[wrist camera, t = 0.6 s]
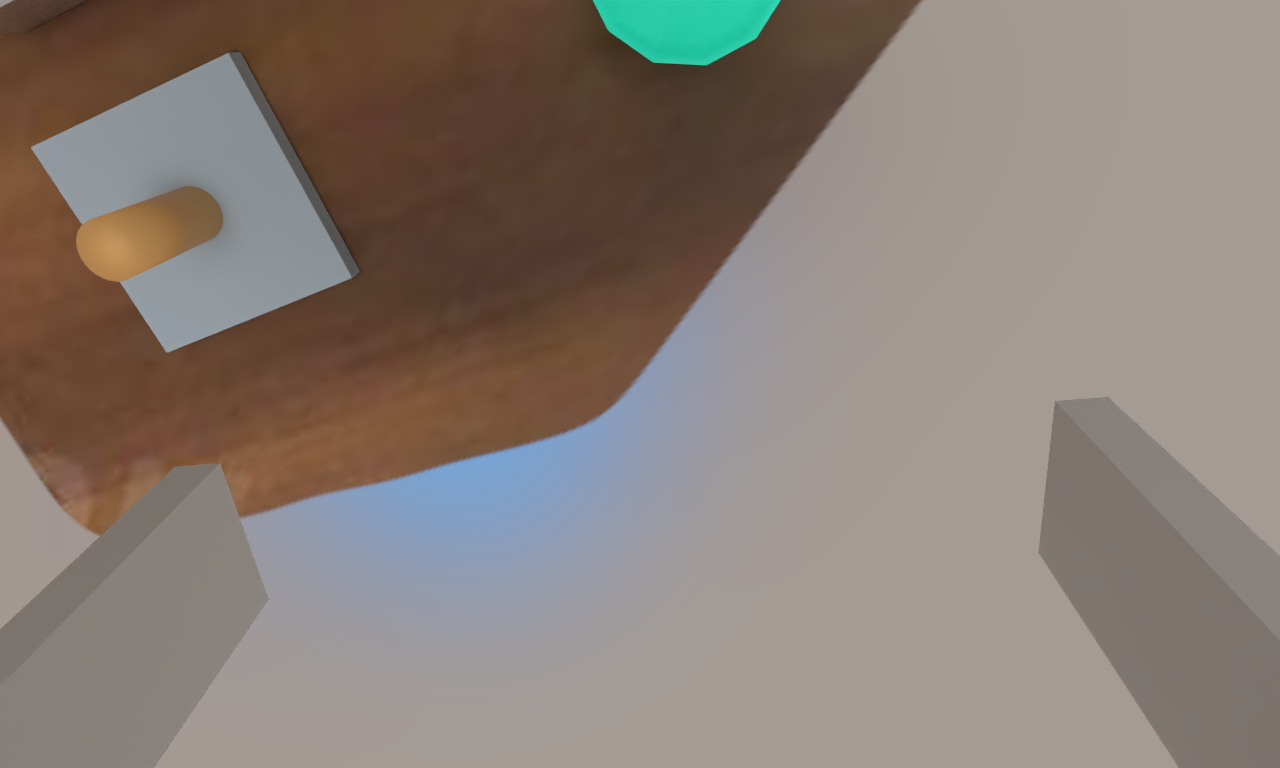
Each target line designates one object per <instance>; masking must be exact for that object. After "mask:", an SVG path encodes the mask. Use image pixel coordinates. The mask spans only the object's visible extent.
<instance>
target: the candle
mask: <svg viewBox="0 0 1280 768" xmlns="http://www.w3.org/2000/svg"><path fill="white" fill-rule="evenodd" d="M593 2H594V4H595V6H596V8H597V9H598V11H599V13H600V15H601V17H602V19H603V21H604V23H605V25H606V27H607V29H608V31H609V32H611V33H612V34H613V35H615V36H616V37H618V38H619V39H621V40H622V41H623V42H625V43H626V44H628V45H629V46H630V47H632V48H633V49H635V50H636V51H637V52H639V53H640V54H642V55H643V56H644V57H646V58H647V59H649V60H650V61H652V62H653V63H671V64H692V65H708V64H710V63H712V62H714V61H716V60H717V59H719V58H721V57H723V56H725V55H727V54H728V53H730V52H732V51H734V50H736V49H738V48H740V47H741V46H743V45H745V44H747V43H749V42H751V41H753V40H754V39H756V38H757V36H758V35H759V33H760V32H761V30H762V29H763V27H764V25H765V24H766V22H767V21H768V19H769V18H770V16H771V14H772V13H773V11H774V10H775V8H776V7H777V5H778V3H779V2H780V0H593Z"/></svg>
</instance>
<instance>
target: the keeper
mask: <svg viewBox="0 0 1280 768" xmlns="http://www.w3.org/2000/svg"><path fill="white" fill-rule="evenodd" d="M31 149H32V150H33V152H34V153H35V155H36V156H37V158H38V159H39V161H40V162H41V164H42V165H43V167H44V168H45V170H46V171H47V173H48V174H49V176H50V177H51V179H52V180H53V182H54V183H55V185H56V186H57V188H58V189H59V191H60V192H61V194H62V195H63V197H64V198H65V200H66V201H67V203H68V204H69V206H70V207H71V209H72V210H73V212H74V213H75V215H76V216H77V218H78V219H79V221H80V223H81V224H82V226H81V227H80V229H79V230H78V233H77V237H76V245H77V250H78V253H79V255H80V257H81V259H82V261H83V262H84V264H85V265H86V266H87V267H88V268H89V269H90V270H91V271H92V272H93V273H95V274H96V275H98V276H100V277H102V278H104V279H106V280H110V281H120V283H121V284H122V286H123V287H124V289H125V290H126V292H127V293H128V295H129V296H130V298H131V299H132V301H133V303H134V304H135V306H136V307H137V309H138V310H139V312H140V313H141V315H142V316H143V318H144V319H145V321H146V322H147V324H148V325H149V327H150V328H151V330H152V331H153V333H154V334H155V336H156V337H157V339H158V340H159V342H160V343H161V345H162V346H163V348H164V349H165V351H166V352H167V353H168V352H170V351H173V350H175V349H178V348H180V347H183V346H185V345H188V344H190V343H193V342H195V341H198V340H200V339H203V338H205V337H208V336H210V335H212V334H215V333H217V332H220V331H222V330H225V329H227V328H230V327H232V326H235V325H237V324H240V323H242V322H245V321H247V320H250V319H252V318H255V317H257V316H259V315H262V314H264V313H267V312H269V311H272V310H274V309H277V308H279V307H282V306H284V305H287V304H289V303H292V302H294V301H297V300H299V299H302V298H304V297H306V296H309V295H311V294H314V293H316V292H319V291H321V290H324V289H326V288H329V287H331V286H334V285H336V284H339V283H341V282H344V281H346V280H348V279H351V278H353V277H354V276H355V275H357V274H358V273H359V272H360V270H359V269H358V267H357V265H356V263H355V261H354V259H353V258H352V256H351V254H350V252H349V250H348V248H347V247H346V245H345V243H344V241H343V239H342V237H341V236H340V234H339V232H338V230H337V228H336V226H335V225H334V223H333V221H332V219H331V217H330V215H329V214H328V212H327V210H326V208H325V206H324V204H323V203H322V201H321V199H320V197H319V195H318V193H317V192H316V190H315V188H314V186H313V184H312V182H311V181H310V179H309V177H308V175H307V173H306V171H305V170H304V168H303V166H302V164H301V162H300V160H299V159H298V157H297V155H296V153H295V151H294V149H293V148H292V146H291V144H290V142H289V140H288V138H287V137H286V135H285V133H284V131H283V129H282V127H281V126H280V124H279V122H278V120H277V118H276V116H275V115H274V113H273V111H272V109H271V107H270V105H269V104H268V102H267V100H266V98H265V96H264V94H263V93H262V91H261V89H260V87H259V85H258V83H257V82H256V80H255V78H254V76H253V74H252V72H251V71H250V69H249V67H248V65H247V63H246V61H245V60H244V58H243V56H242V54H241V52H232V53H227V54H225V55H223V56H221V57H218V58H216V59H214V60H212V61H210V62H208V63H206V64H204V65H202V66H200V67H198V68H195V69H193V70H191V71H189V72H187V73H185V74H183V75H181V76H179V77H177V78H175V79H172V80H170V81H168V82H166V83H164V84H162V85H160V86H158V87H156V88H154V89H152V90H149V91H147V92H145V93H143V94H141V95H139V96H137V97H135V98H133V99H131V100H129V101H126V102H124V103H122V104H120V105H118V106H116V107H114V108H112V109H110V110H108V111H106V112H103V113H101V114H99V115H97V116H95V117H93V118H91V119H89V120H87V121H85V122H83V123H80V124H78V125H76V126H74V127H72V128H70V129H68V130H66V131H64V132H62V133H60V134H57V135H55V136H53V137H51V138H49V139H47V140H45V141H43V142H41V143H39V144H37V145H34V146H32V147H31Z"/></svg>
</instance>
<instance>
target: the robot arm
mask: <svg viewBox="0 0 1280 768" xmlns="http://www.w3.org/2000/svg"><path fill="white" fill-rule="evenodd" d="M1053 416H1054V417H1053V425H1052V434H1051V444H1050V452H1049V461H1048V471H1047V480H1046V489H1045V498H1044V507H1043V518H1042V526H1041V535H1040V545H1039V554H1040V555H1041V557H1042V559H1043V560H1044V562H1045V563H1046V565H1047V566H1048V568H1049V569H1050V571H1051V572H1052V574H1053V575H1054V577H1055V579H1056V580H1057V582H1058V583H1059V585H1060V586H1061V588H1062V589H1063V591H1064V592H1065V594H1066V595H1067V597H1068V598H1069V600H1070V602H1071V603H1072V605H1073V606H1074V607H1075V609H1076V611H1077V612H1078V614H1079V615H1080V617H1081V618H1082V620H1083V621H1084V623H1085V625H1086V626H1087V628H1088V629H1089V631H1090V632H1091V634H1092V635H1093V637H1094V638H1095V640H1096V641H1097V643H1098V644H1099V646H1100V648H1101V649H1102V651H1103V652H1104V654H1105V655H1106V657H1107V658H1108V660H1109V661H1110V663H1111V664H1112V666H1113V667H1114V669H1115V670H1116V672H1117V674H1118V675H1119V677H1120V678H1121V680H1122V681H1123V683H1124V684H1125V686H1126V687H1127V689H1128V690H1129V692H1130V693H1131V695H1132V697H1133V698H1134V700H1135V701H1136V703H1137V704H1138V706H1139V707H1140V709H1141V710H1142V712H1143V713H1144V715H1145V717H1146V718H1147V720H1148V721H1149V723H1150V724H1151V726H1152V727H1153V729H1154V730H1155V732H1156V733H1157V735H1158V736H1159V738H1160V739H1161V741H1162V743H1163V744H1164V746H1165V747H1166V749H1167V750H1168V752H1169V753H1170V755H1171V756H1172V758H1173V759H1174V761H1175V762H1176V764H1177V766H1178V767H1179V768H1280V556H1279V555H1278V554H1277V553H1276V552H1275V551H1274V550H1273V549H1272V548H1271V547H1270V546H1269V545H1267V544H1266V543H1265V542H1264V541H1263V540H1262V539H1261V538H1260V537H1259V536H1258V535H1257V534H1256V533H1255V532H1253V531H1252V530H1251V529H1250V528H1249V527H1248V526H1247V525H1246V524H1245V523H1244V522H1243V521H1242V520H1240V519H1239V518H1238V517H1237V516H1236V515H1235V514H1234V513H1233V512H1232V511H1231V510H1230V509H1228V508H1227V507H1226V506H1225V505H1224V504H1223V503H1222V502H1221V501H1220V500H1219V499H1218V498H1217V497H1216V496H1214V495H1213V494H1212V493H1211V492H1210V491H1209V490H1208V489H1207V488H1206V487H1205V486H1204V485H1203V484H1201V483H1200V482H1199V481H1198V480H1197V479H1196V478H1195V477H1194V476H1193V475H1192V474H1191V473H1189V472H1188V471H1187V470H1186V469H1185V468H1184V467H1183V466H1182V465H1181V464H1180V463H1179V462H1178V461H1177V460H1176V459H1174V458H1173V457H1172V456H1171V455H1170V454H1169V453H1168V452H1167V451H1166V450H1165V449H1164V448H1162V447H1161V446H1160V445H1159V444H1158V443H1157V442H1156V441H1155V440H1154V439H1153V438H1152V437H1151V436H1150V435H1149V434H1147V433H1146V432H1145V431H1144V430H1143V429H1142V428H1141V427H1140V426H1139V425H1138V424H1137V423H1136V422H1134V421H1133V420H1132V419H1131V418H1130V417H1129V416H1128V415H1127V414H1126V413H1125V412H1124V411H1122V410H1121V409H1120V408H1119V407H1118V406H1117V405H1116V404H1115V403H1114V402H1113V401H1111V399H1110V398H1108V397H1103V398H1090V399H1078V400H1077V399H1076V400H1063V401H1055V406H1054V415H1053ZM267 601H268V597H267V594H266V591H265V588H264V585H263V582H262V580H261V577H260V574H259V571H258V569H257V566H256V563H255V560H254V558H253V555H252V552H251V549H250V546H249V543H248V540H247V538H246V535H245V532H244V529H243V527H242V524H241V521H240V518H239V515H238V512H237V510H236V507H235V504H234V501H233V498H232V496H231V493H230V490H229V487H228V484H227V482H226V479H225V476H224V473H223V470H222V468H221V465H220V463H217V464H204V465H190V466H177V467H174V468H173V469H172V470H171V471H170V472H169V473H168V474H167V475H166V476H165V477H163V478H162V479H161V480H160V481H159V482H158V483H157V484H156V485H155V486H154V487H153V488H152V489H151V490H150V491H148V492H147V493H146V494H145V495H144V496H143V497H142V498H141V499H140V500H139V501H138V502H137V503H136V504H135V505H133V506H132V507H131V508H130V509H129V510H128V511H127V512H126V513H125V514H124V515H123V516H122V517H121V518H119V519H118V520H117V521H116V522H115V523H114V524H113V525H112V526H111V527H110V528H109V529H108V530H107V531H106V532H104V533H103V534H102V535H101V536H100V537H99V538H98V539H97V540H96V541H95V542H94V543H93V544H92V545H91V546H90V547H89V548H87V549H86V550H85V551H84V552H83V553H82V554H81V555H80V556H79V557H78V558H77V559H75V560H74V561H73V562H72V563H71V564H70V565H69V566H68V567H67V568H66V569H65V570H64V571H63V572H62V573H60V574H59V575H58V576H57V577H56V578H55V579H54V580H53V581H52V582H51V583H50V584H49V585H48V586H47V587H45V588H44V589H43V590H42V591H41V592H40V593H39V594H38V595H37V596H36V597H35V598H34V599H33V600H31V602H29V603H28V604H27V605H26V606H25V607H24V608H23V609H22V610H21V611H20V612H19V613H18V614H16V616H14V617H13V618H12V619H11V620H10V621H9V622H8V623H7V624H6V625H5V626H4V627H3V628H1V629H0V768H154V767H155V765H156V764H157V762H158V761H159V759H160V758H161V756H162V755H163V753H164V752H165V751H166V749H167V748H168V746H169V745H170V743H171V742H172V740H173V739H174V737H175V736H176V734H177V733H178V731H179V730H180V729H181V727H182V726H183V724H184V723H185V721H186V719H187V718H188V717H189V715H190V714H191V712H192V711H193V709H194V708H195V706H196V705H197V704H198V702H199V700H200V699H201V698H202V696H203V695H204V693H205V692H206V690H207V689H208V687H209V686H210V684H211V683H212V681H213V680H214V679H215V677H216V675H217V674H218V673H219V671H220V670H221V668H222V667H223V665H224V664H225V662H226V661H227V659H228V658H229V657H230V655H231V654H232V652H233V651H234V649H235V647H236V646H237V645H238V643H239V642H240V640H241V639H242V637H243V636H244V634H245V633H246V631H247V630H248V629H249V627H250V625H251V624H252V623H253V621H254V620H255V618H256V617H257V615H258V614H259V612H260V611H261V609H262V608H263V607H264V605H265V604H266V602H267Z"/></svg>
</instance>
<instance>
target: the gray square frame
mask: <svg viewBox="0 0 1280 768" xmlns="http://www.w3.org/2000/svg"><path fill="white" fill-rule="evenodd" d="M85 1H87V0H0V33H23V32H27V31H29V30H31V29H32V28H34V27H36V26H38V25H40V24H42V23H44V22H46V21H48V20H50V19H52V18H54V17H56V16H58V15H60V14H62V13H64V12H66V11H68V10H70V9H72V8H74V7H75V6H77V5H79V4H81V3H83V2H85Z"/></svg>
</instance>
